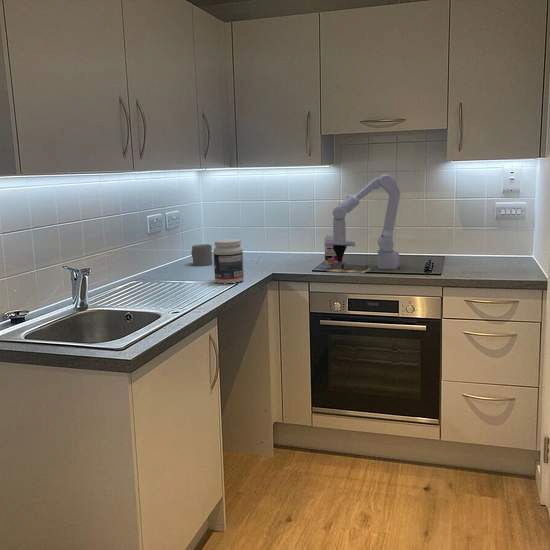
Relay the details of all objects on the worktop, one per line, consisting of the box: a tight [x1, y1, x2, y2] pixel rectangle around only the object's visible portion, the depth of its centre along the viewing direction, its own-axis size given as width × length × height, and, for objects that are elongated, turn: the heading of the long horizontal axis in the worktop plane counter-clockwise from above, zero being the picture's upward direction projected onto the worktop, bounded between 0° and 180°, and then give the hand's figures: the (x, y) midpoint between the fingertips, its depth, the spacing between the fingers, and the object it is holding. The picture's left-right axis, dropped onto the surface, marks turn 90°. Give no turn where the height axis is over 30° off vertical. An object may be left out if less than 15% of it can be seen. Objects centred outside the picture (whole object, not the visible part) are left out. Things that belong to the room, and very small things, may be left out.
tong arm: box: [338, 261, 366, 270], centre depth 287 cm, size 14×3×3 cm, turn 61°
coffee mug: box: [191, 243, 213, 267], centre depth 323 cm, size 13×10×10 cm
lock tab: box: [328, 258, 335, 263], centre depth 292 cm, size 2×2×2 cm
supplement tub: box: [212, 238, 245, 284], centre depth 272 cm, size 13×13×18 cm
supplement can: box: [324, 234, 343, 266], centre depth 305 cm, size 8×8×15 cm
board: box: [326, 267, 372, 274], centre depth 287 cm, size 18×12×1 cm, turn 63°
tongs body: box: [330, 263, 369, 270], centre depth 288 cm, size 17×4×2 cm, turn 63°
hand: (340, 261), depth 290 cm, fingers closed
